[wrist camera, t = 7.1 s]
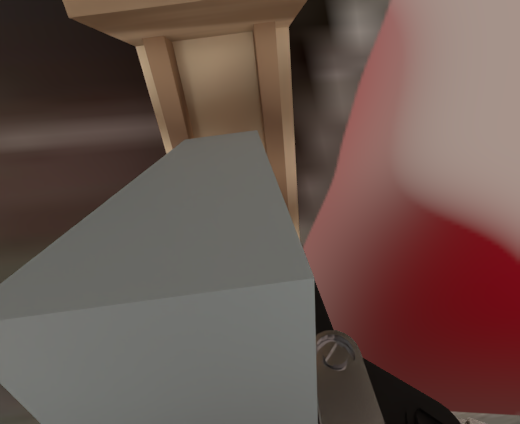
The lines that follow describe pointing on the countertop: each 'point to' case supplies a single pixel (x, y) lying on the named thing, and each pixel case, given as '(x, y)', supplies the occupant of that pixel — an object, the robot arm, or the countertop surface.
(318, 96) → the countertop surface
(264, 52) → the track frame
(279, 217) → the light blue rectangular block
